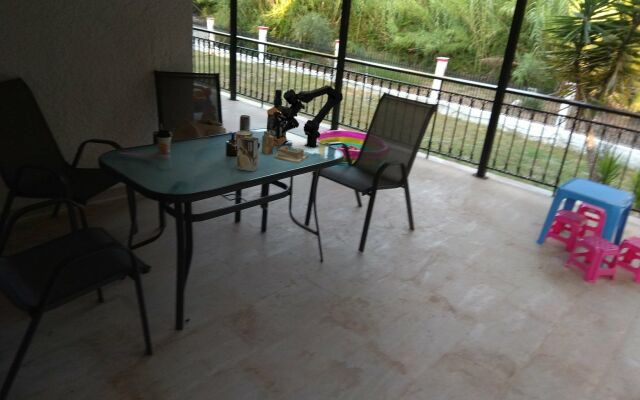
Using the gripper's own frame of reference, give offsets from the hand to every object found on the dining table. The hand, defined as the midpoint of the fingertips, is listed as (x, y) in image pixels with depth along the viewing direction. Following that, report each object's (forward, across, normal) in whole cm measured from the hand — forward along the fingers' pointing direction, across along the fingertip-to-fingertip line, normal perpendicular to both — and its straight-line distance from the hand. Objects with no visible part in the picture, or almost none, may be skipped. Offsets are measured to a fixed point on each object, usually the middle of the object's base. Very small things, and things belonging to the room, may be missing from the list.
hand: (276, 130), depth 255 cm
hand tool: (+14, -19, +4) cm, 24 cm away
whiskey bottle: (+1, -15, +16) cm, 22 cm away
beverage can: (+22, -4, -4) cm, 23 cm away
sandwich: (+7, +12, +10) cm, 17 cm away
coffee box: (+30, +17, -12) cm, 37 cm away
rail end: (+13, 0, +5) cm, 14 cm away
